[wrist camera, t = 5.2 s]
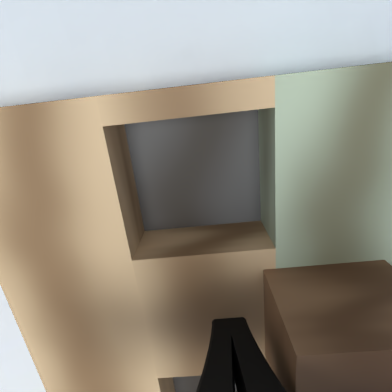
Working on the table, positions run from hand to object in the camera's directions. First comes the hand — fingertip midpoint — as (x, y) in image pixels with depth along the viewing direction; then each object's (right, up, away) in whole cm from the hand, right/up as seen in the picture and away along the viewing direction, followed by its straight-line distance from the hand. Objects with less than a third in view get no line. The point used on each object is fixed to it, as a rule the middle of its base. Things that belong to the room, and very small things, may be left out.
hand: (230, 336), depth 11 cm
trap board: (-1, +1, +4) cm, 4 cm away
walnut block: (+4, +1, +1) cm, 4 cm away
